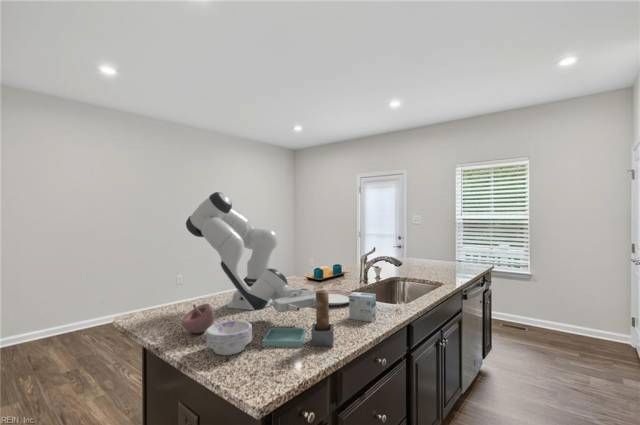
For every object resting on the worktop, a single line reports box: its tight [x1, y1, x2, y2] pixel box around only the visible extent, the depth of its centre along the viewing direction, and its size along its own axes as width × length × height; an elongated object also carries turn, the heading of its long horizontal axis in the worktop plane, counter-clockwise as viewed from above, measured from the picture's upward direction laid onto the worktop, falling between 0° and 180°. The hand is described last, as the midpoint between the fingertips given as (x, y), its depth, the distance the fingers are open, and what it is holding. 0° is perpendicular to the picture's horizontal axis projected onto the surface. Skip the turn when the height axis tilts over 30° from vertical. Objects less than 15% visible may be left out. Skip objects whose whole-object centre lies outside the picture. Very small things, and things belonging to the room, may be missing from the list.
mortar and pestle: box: [181, 303, 215, 334], centre depth 125 cm, size 12×12×12 cm
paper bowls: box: [205, 320, 253, 356], centre depth 109 cm, size 15×15×8 cm
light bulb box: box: [348, 291, 377, 323], centre depth 139 cm, size 11×7×11 cm, turn 65°
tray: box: [261, 327, 307, 348], centre depth 116 cm, size 14×12×2 cm
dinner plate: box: [311, 288, 353, 307], centre depth 168 cm, size 27×27×3 cm
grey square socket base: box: [310, 322, 335, 348], centre depth 113 cm, size 8×8×6 cm
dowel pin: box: [315, 291, 330, 330], centre depth 113 cm, size 4×4×18 cm
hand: (308, 307), depth 120 cm, fingers open, 8 cm apart
